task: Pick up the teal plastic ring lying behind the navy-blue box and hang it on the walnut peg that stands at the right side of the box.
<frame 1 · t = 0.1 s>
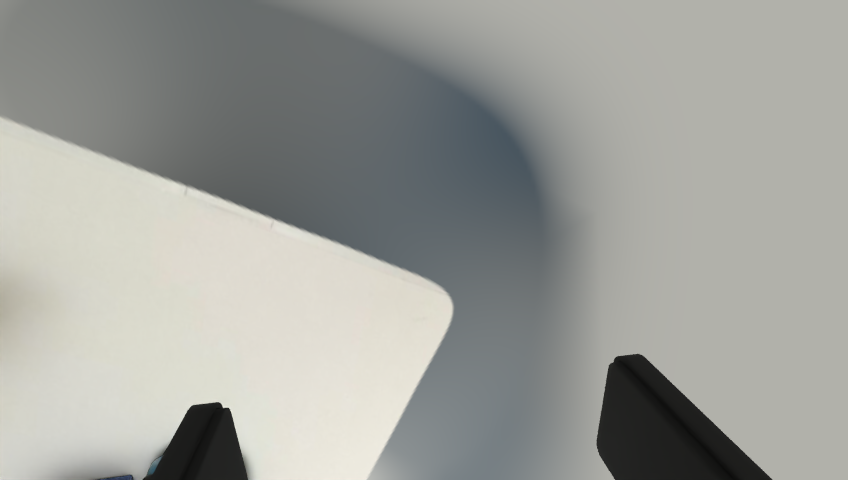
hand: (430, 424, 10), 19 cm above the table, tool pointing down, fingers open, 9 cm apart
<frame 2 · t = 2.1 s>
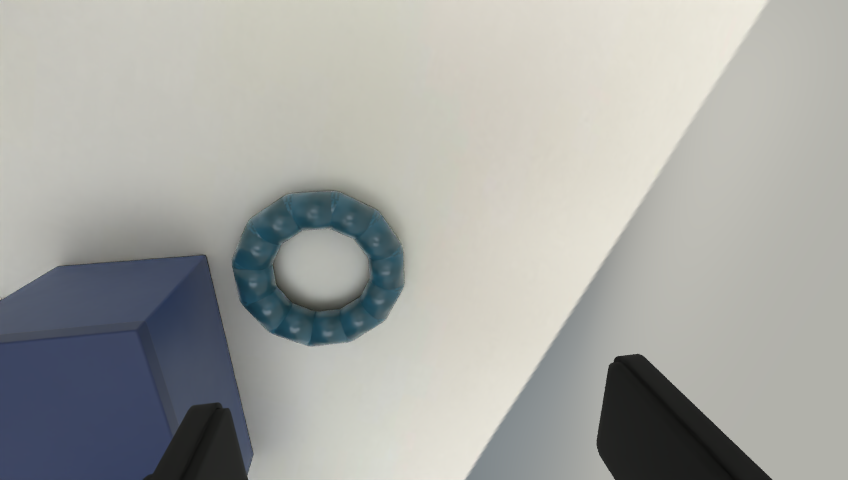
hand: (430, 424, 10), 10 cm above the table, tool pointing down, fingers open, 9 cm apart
ring: (322, 272, 18), point 1 cm above the table
box: (168, 372, 20), on the table
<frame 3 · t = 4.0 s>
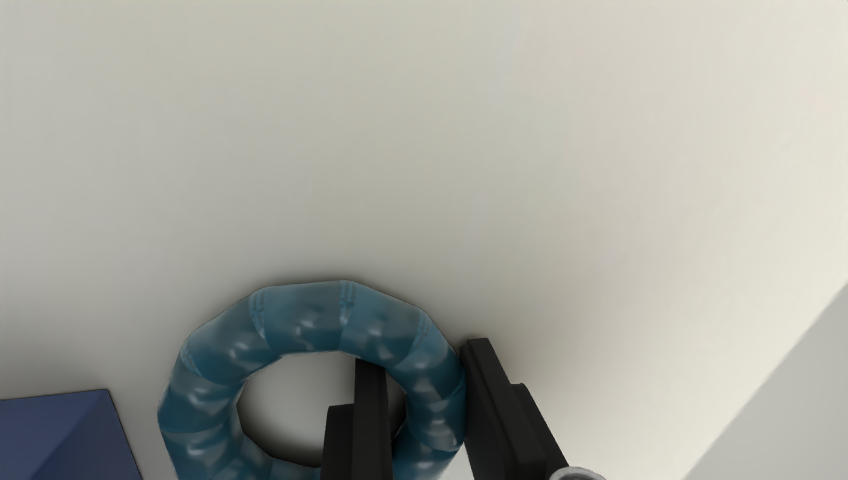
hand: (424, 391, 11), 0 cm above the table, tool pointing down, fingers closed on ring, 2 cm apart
ring: (323, 416, 10), point 1 cm above the table, touching gripper
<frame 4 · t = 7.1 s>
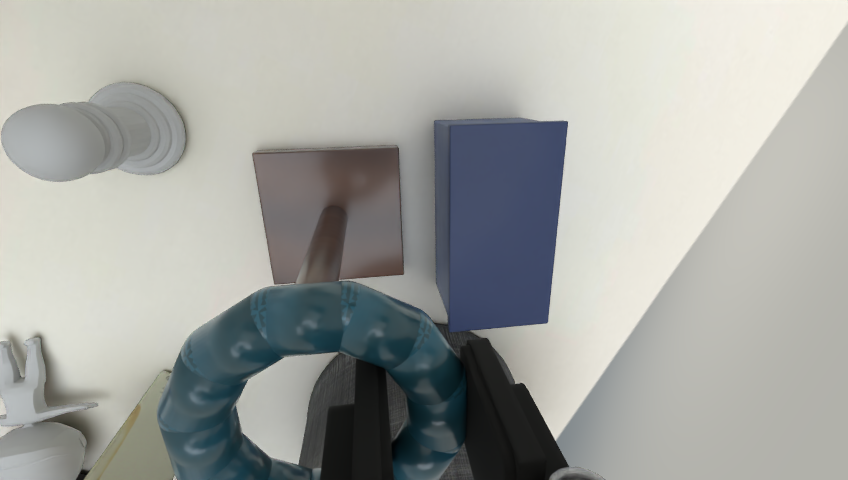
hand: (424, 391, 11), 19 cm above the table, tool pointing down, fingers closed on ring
chess piece: (142, 129, 25), on the table
planter: (414, 408, 35), on the table
peg: (335, 213, 28), on the table
ring: (324, 417, 10), point 19 cm above the table, touching gripper
cosmetic box: (172, 406, 32), on the table
box: (476, 205, 29), on the table
figurine 2: (22, 335, 28), on the table
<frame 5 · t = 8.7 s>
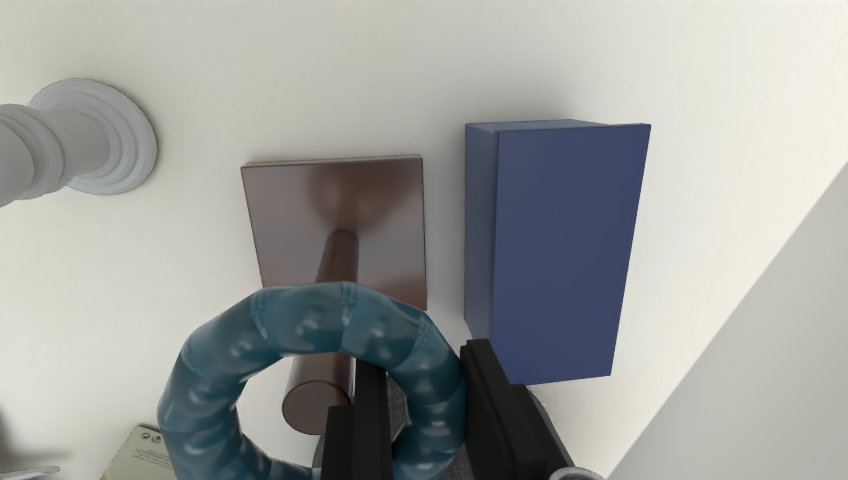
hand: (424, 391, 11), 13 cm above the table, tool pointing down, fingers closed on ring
chess piece: (103, 138, 20), on the table
planter: (436, 460, 30), on the table
peg: (343, 238, 23), on the table
ring: (323, 417, 10), point 14 cm above the table, touching gripper
cosmetic box: (151, 464, 27), on the table
box: (513, 226, 24), on the table
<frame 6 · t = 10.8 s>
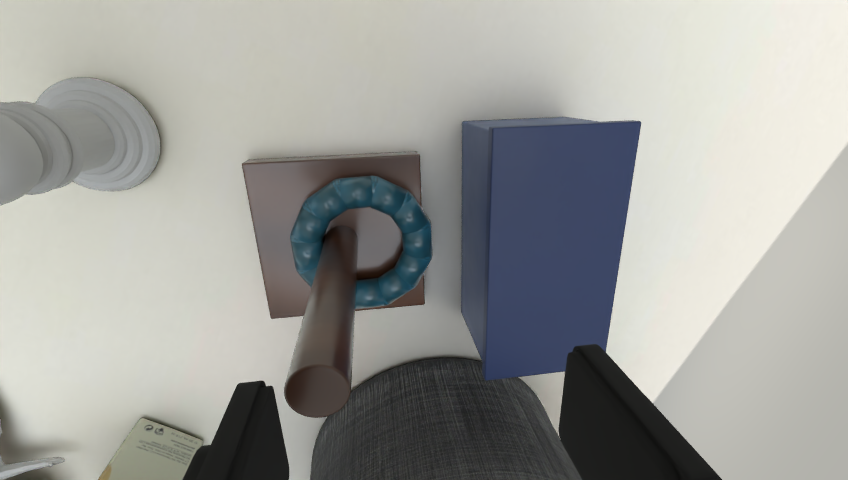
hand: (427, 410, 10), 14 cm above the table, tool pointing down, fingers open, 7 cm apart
chess piece: (107, 135, 20), on the table
planter: (433, 452, 30), on the table
peg: (342, 233, 23), on the table
ring: (363, 245, 22), point 2 cm above the table, touching peg
cosmetic box: (154, 456, 27), on the table
box: (509, 221, 24), on the table
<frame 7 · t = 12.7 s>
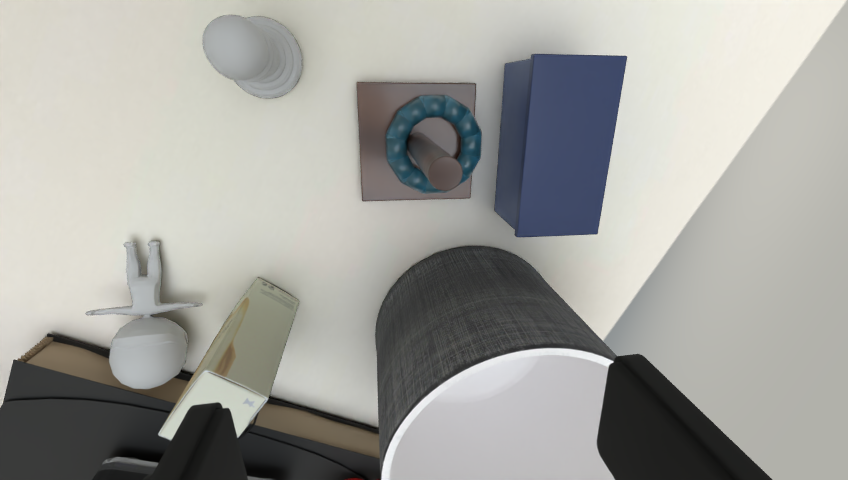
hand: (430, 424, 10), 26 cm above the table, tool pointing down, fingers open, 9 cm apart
chess piece: (265, 59, 29), on the table
planter: (465, 327, 40), on the table
peg: (415, 142, 33), on the table
ring: (434, 146, 31), point 2 cm above the table, touching peg
file folder: (205, 475, 42), on the table, touching camera, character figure, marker, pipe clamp, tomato
cosmetic box: (261, 313, 36), on the table
box: (533, 141, 34), on the table
figurine 2: (144, 239, 33), on the table
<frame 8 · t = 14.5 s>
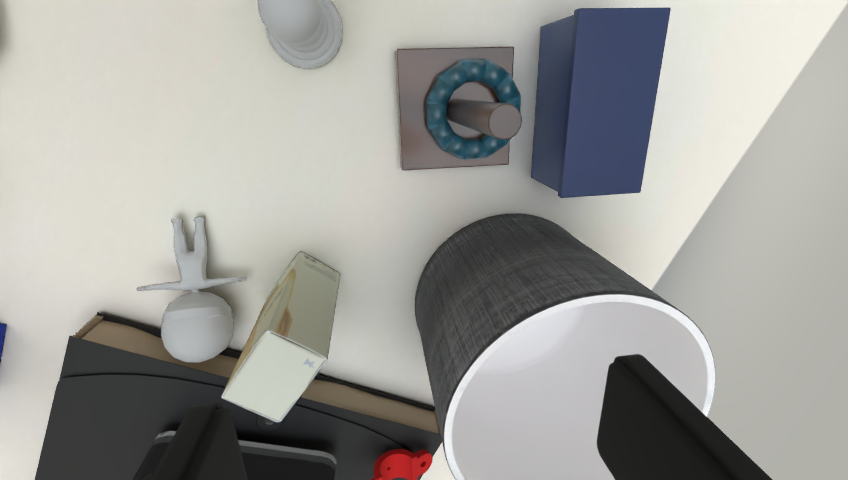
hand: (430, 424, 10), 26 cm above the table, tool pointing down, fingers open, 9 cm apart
chess piece: (306, 29, 30), on the table
camera: (249, 459, 38), point 4 cm above the table, touching file folder
planter: (502, 298, 40), on the table
peg: (453, 109, 33), on the table
ring: (473, 111, 31), point 2 cm above the table, touching peg
file folder: (250, 452, 42), on the table, touching camera, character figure, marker, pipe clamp, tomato
cosmetic box: (302, 287, 37), on the table
box: (569, 105, 34), on the table
figurine 2: (189, 215, 33), on the table
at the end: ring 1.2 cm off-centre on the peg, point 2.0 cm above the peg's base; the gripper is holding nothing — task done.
